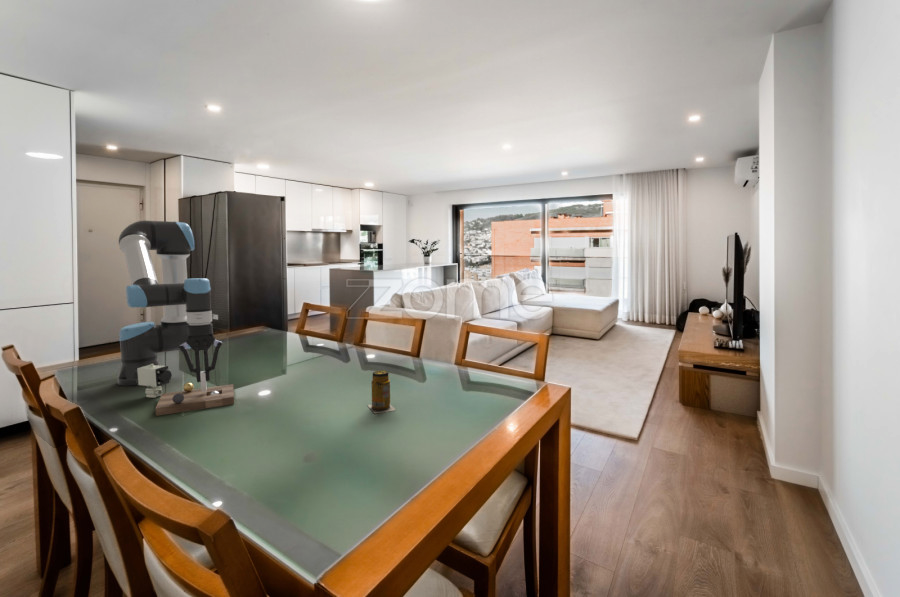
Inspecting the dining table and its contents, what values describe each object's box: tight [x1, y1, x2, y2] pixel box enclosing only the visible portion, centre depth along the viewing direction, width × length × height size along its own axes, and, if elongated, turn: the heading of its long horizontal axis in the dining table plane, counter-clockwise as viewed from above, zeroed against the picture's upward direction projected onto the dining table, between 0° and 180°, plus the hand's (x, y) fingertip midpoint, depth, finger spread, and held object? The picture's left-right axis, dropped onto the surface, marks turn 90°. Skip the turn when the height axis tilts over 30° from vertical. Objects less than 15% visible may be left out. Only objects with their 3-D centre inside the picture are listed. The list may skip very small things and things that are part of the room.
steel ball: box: [209, 391, 219, 396], centre depth 144 cm, size 3×3×3 cm
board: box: [155, 383, 235, 417], centre depth 142 cm, size 16×22×2 cm
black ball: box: [172, 393, 184, 403], centre depth 134 cm, size 3×3×3 cm
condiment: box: [367, 369, 396, 414], centre depth 136 cm, size 7×8×12 cm
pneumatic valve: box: [134, 364, 172, 399], centre depth 148 cm, size 6×12×12 cm, turn 78°
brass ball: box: [182, 382, 195, 392], centre depth 146 cm, size 3×3×3 cm
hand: (204, 390), depth 143 cm, fingers closed
